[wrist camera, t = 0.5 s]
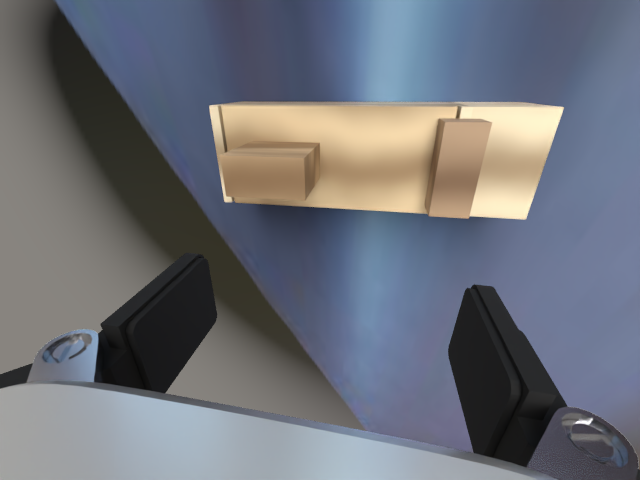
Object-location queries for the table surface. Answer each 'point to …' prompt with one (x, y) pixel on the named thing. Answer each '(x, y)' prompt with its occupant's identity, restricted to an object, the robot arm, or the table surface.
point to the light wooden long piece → (500, 155)
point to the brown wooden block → (456, 166)
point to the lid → (331, 155)
